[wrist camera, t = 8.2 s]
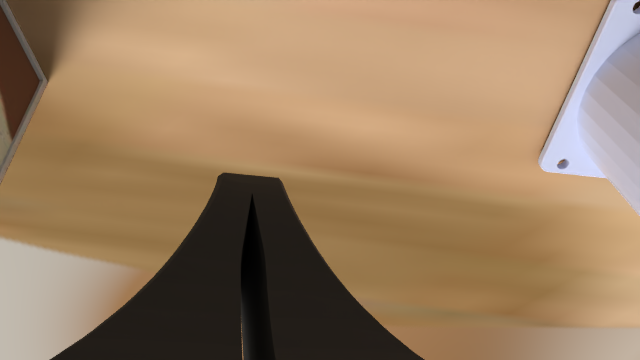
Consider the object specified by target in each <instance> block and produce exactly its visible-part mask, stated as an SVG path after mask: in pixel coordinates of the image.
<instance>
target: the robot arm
mask: <svg viewBox="0 0 640 360" xmlns="http://www.w3.org/2000/svg"><path fill="white" fill-rule="evenodd" d="M638 1H640V0H611V1H610V3H609V6H608V8H607V10H606V12H605V14H604V16H603V19H602V21H601V23H600V25H599V27H598V30H597V32H596V34H595V36H594V38H593V41H592V43H591V45H590V47H589V49H588V51H587V54H586V56H585V58H584V60H583V62H582V65H581V67H580V69H579V71H578V73H577V76H576V78H575V80H574V82H573V84H572V86H571V89H570V91H569V93H568V95H567V97H566V100H565V102H564V104H563V106H562V108H561V111H560V113H559V115H558V117H557V119H556V121H555V124H554V126H553V128H552V130H551V132H550V135H549V137H548V139H547V141H546V143H545V146H544V148H543V150H542V152H541V154H540V156H539V160H538V163H539V165H540V167H541V168H542V169H543V170H544V171H546V172H553V173H562V174H572V175H581V176H590V177H600V178H607V179H608V180H609V181H610V182H611V183H612V185H613V186H614V187H615V188H616V189H617V190H618V191H619V193H620V194H621V195H622V196H623V197H624V198H625V200H626V201H627V202H628V203H629V204H630V205H631V207H632V208H633V209H634V210H635V211H636V212H637V214H638V215H639V216H640V6H639V7H638V8H637V9H636V10H633V6H634V5H635V3H636V2H638ZM562 159H565V160H564V162H563V163H561V164H558V162H559V161H561V160H562ZM241 322H242V335H241ZM241 336H242V337H241ZM241 338H242V339H243V356H244V360H424V359H423V358H421V357H420V356H418V355H417V354H415V353H414V352H413V351H411V350H410V349H409V348H408V347H407V346H406V345H404V344H403V343H402V342H401V341H399V340H398V339H397V338H396V337H395V336H393V335H392V334H391V333H390V332H389V331H388V330H386V329H385V328H384V327H383V326H382V325H381V324H380V323H379V322H378V321H377V320H376V319H375V318H374V317H373V316H372V315H371V314H370V313H369V312H368V311H366V310H365V309H364V308H363V307H362V306H361V305H360V304H359V302H358V301H357V300H356V299H355V298H354V297H353V296H352V295H351V294H350V292H349V291H348V290H347V289H346V288H345V286H344V285H343V284H342V283H341V282H340V280H339V279H338V278H337V277H336V275H335V274H334V273H333V271H332V270H331V269H330V267H329V266H328V265H327V263H326V262H325V260H324V259H323V257H322V256H321V254H320V253H319V251H318V250H317V248H316V247H315V245H314V244H313V242H312V240H311V239H310V237H309V235H308V234H307V232H306V230H305V229H304V227H303V225H302V223H301V222H300V220H299V218H298V216H297V214H296V212H295V210H294V208H293V206H292V204H291V202H290V200H289V198H288V195H287V193H286V191H285V188H284V186H283V183H282V182H281V180H280V179H279V178H274V177H263V176H253V175H243V174H233V173H222V174H221V175H219V176H218V179H217V183H216V186H215V188H214V191H213V193H212V195H211V197H210V199H209V201H208V203H207V205H206V207H205V209H204V210H203V212H202V213H201V215H200V217H199V218H198V220H197V222H196V223H195V225H194V226H193V228H192V229H191V231H190V232H189V234H188V235H187V236H186V238H185V239H184V240H183V242H182V243H181V245H180V246H179V247H178V249H177V250H176V251H175V253H174V254H173V255H172V256H171V257H170V259H169V260H168V261H167V262H166V263H165V265H164V266H163V267H162V268H161V269H160V270H159V271H158V272H157V273H156V275H155V276H154V277H153V278H152V279H151V280H150V281H149V282H148V283H147V284H146V285H145V286H144V287H143V288H142V289H141V290H140V291H139V292H138V293H137V294H136V295H135V296H134V297H133V298H131V299H130V300H129V301H128V302H127V303H126V304H125V305H124V306H123V307H121V308H120V309H119V310H118V311H116V312H115V313H114V314H113V315H111V316H110V317H109V318H108V319H106V320H105V321H104V322H103V323H101V324H100V325H99V326H98V327H97V328H95V329H94V330H93V331H91V332H90V333H89V334H87V335H86V336H85V337H83V338H82V339H80V340H79V341H77V342H76V343H74V344H73V345H72V346H70V347H68V348H67V349H65V350H64V351H62V352H61V353H60V354H58V355H56V356H55V357H53V358H52V359H50V360H242V339H241Z"/></svg>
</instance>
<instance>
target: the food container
mask: <svg viewBox="0 0 640 360" xmlns="http://www.w3.org/2000/svg"><path fill="white" fill-rule="evenodd" d="M47 84H48V81H47V79H46V78H45V76H44V74H43V72H42V70H41V68H40V66H39V64H38V62H37V60H36V58H35V56H34V54H33V52H32V50H31V48H30V46H29V44H28V43H27V41H26V39H25V37H24V35H23V33H22V31H21V29H20V27H19V25H18V23H17V21H16V19H15V17H14V15H13V13H12V11H11V10H10V8H9V6H8V4H7V2H6V0H0V184H1V182H2V180H3V178H4V176H5V173H6V171H7V169H8V167H9V165H10V163H11V161H12V158H13V156H14V154H15V152H16V150H17V148H18V146H19V144H20V141H21V139H22V137H23V135H24V133H25V131H26V129H27V126H28V124H29V122H30V120H31V118H32V116H33V114H34V112H35V109H36V107H37V105H38V103H39V101H40V99H41V97H42V94H43V92H44V90H45V88H46V86H47Z"/></svg>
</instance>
